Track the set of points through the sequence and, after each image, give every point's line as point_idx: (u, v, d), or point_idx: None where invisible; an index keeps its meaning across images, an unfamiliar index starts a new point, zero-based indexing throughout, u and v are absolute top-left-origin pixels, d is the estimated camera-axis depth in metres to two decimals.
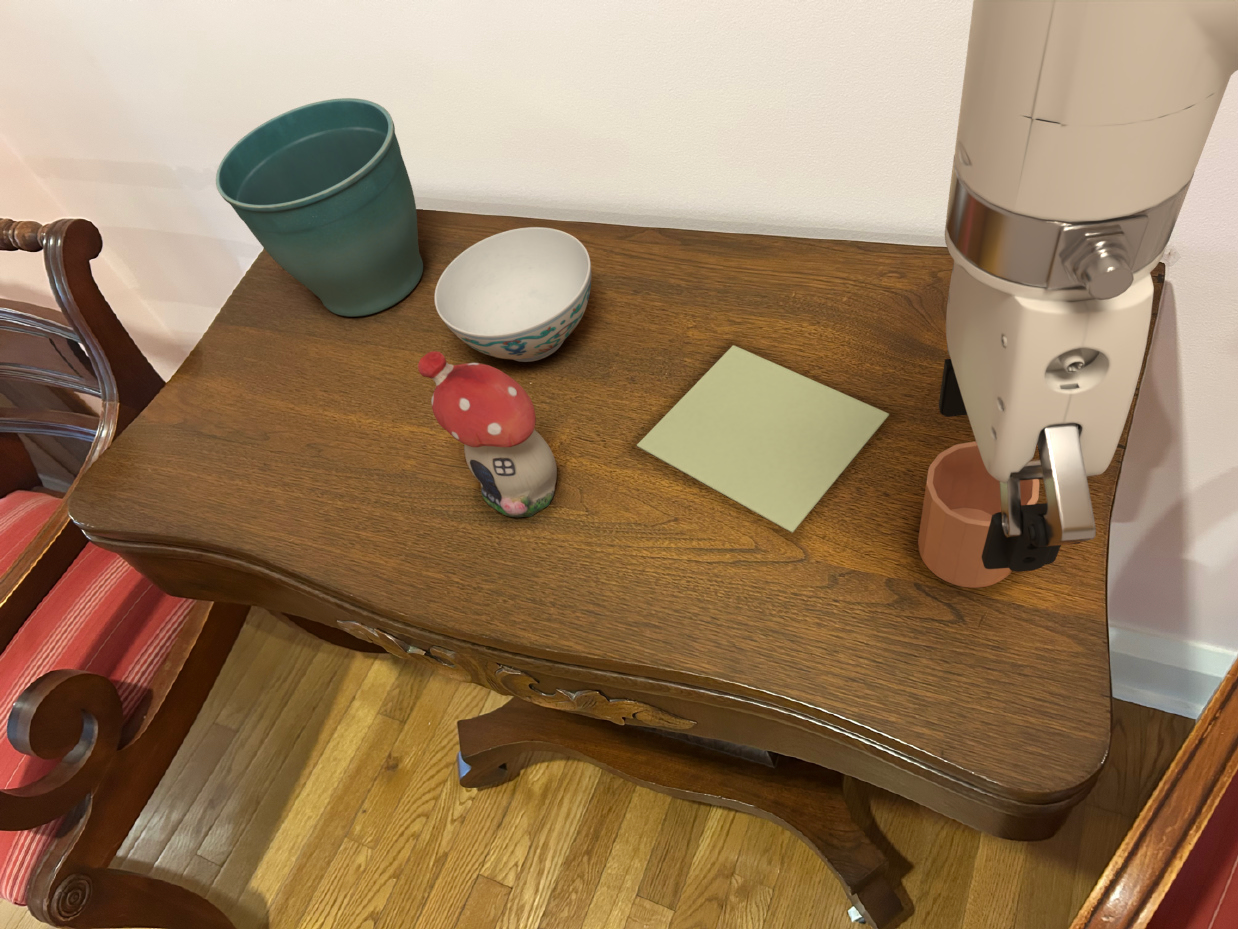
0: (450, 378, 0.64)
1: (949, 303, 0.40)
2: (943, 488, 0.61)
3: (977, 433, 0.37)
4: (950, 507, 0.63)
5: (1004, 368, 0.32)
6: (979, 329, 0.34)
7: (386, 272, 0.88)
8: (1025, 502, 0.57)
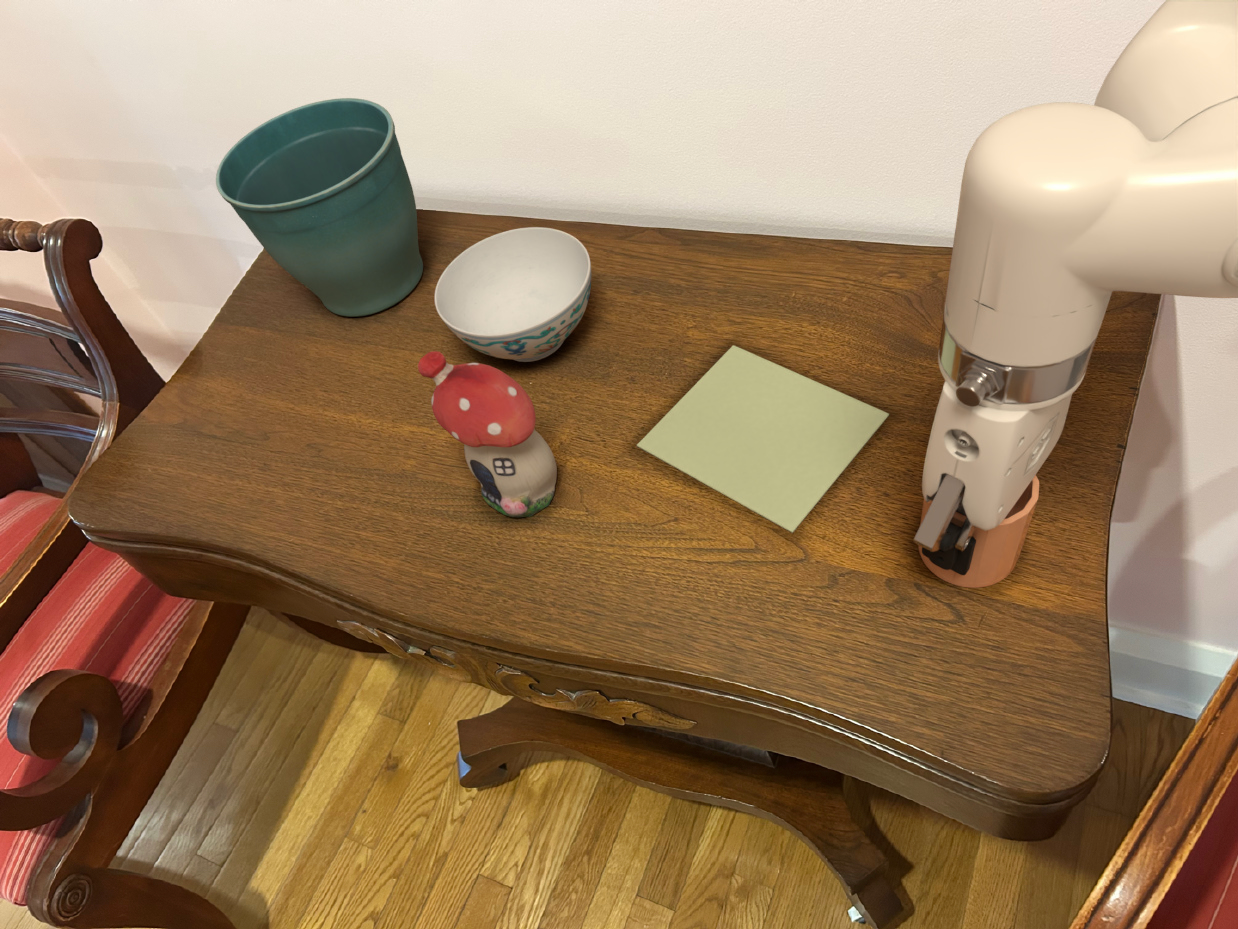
0: (450, 378, 0.64)
1: None
2: None
3: None
4: None
5: None
6: None
7: (386, 272, 0.88)
8: (1025, 502, 0.57)
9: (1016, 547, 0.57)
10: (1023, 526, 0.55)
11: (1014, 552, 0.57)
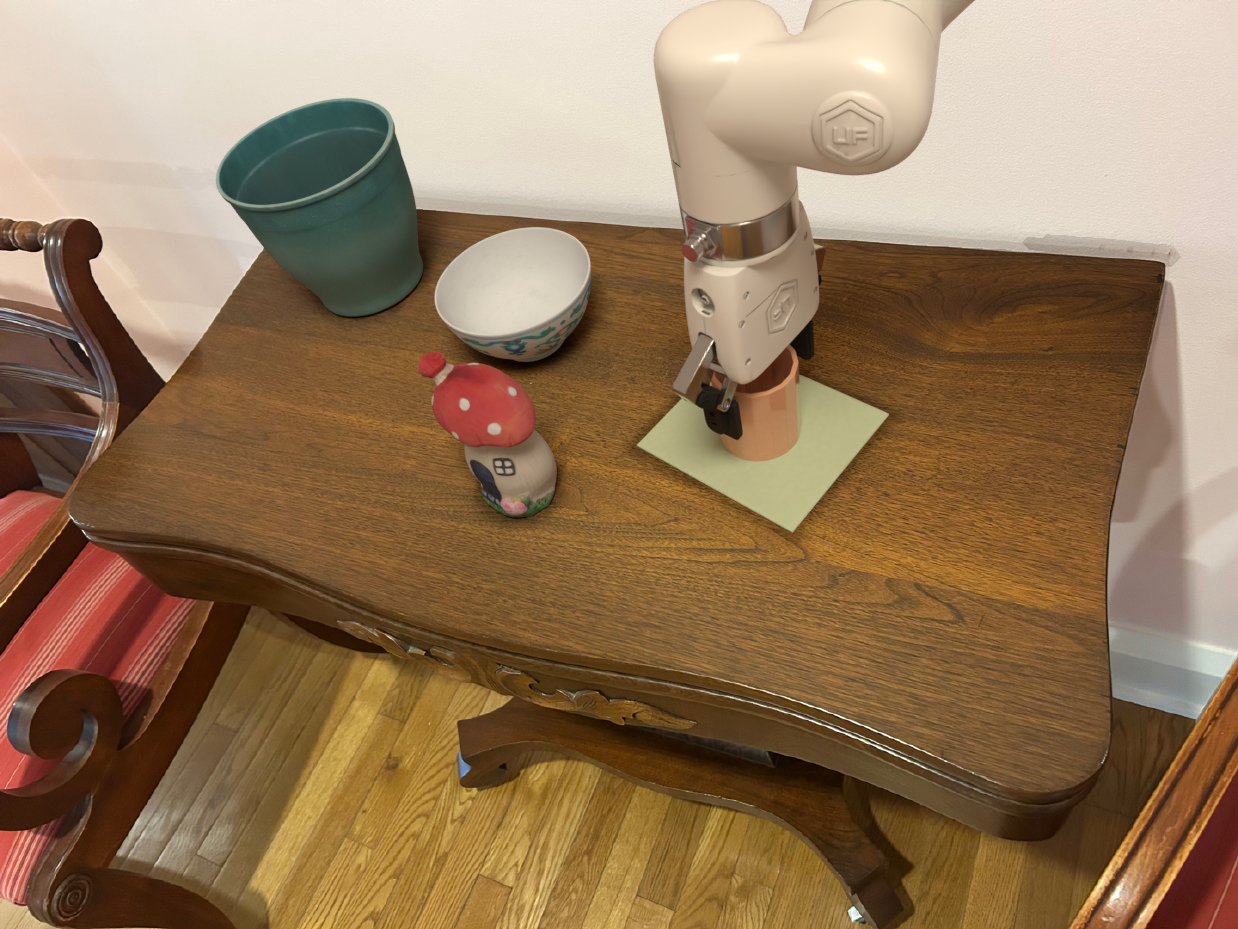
0: (450, 378, 0.64)
1: None
2: None
3: None
4: None
5: None
6: None
7: (386, 272, 0.88)
8: None
9: (785, 421, 0.67)
10: (784, 399, 0.65)
11: (785, 426, 0.67)
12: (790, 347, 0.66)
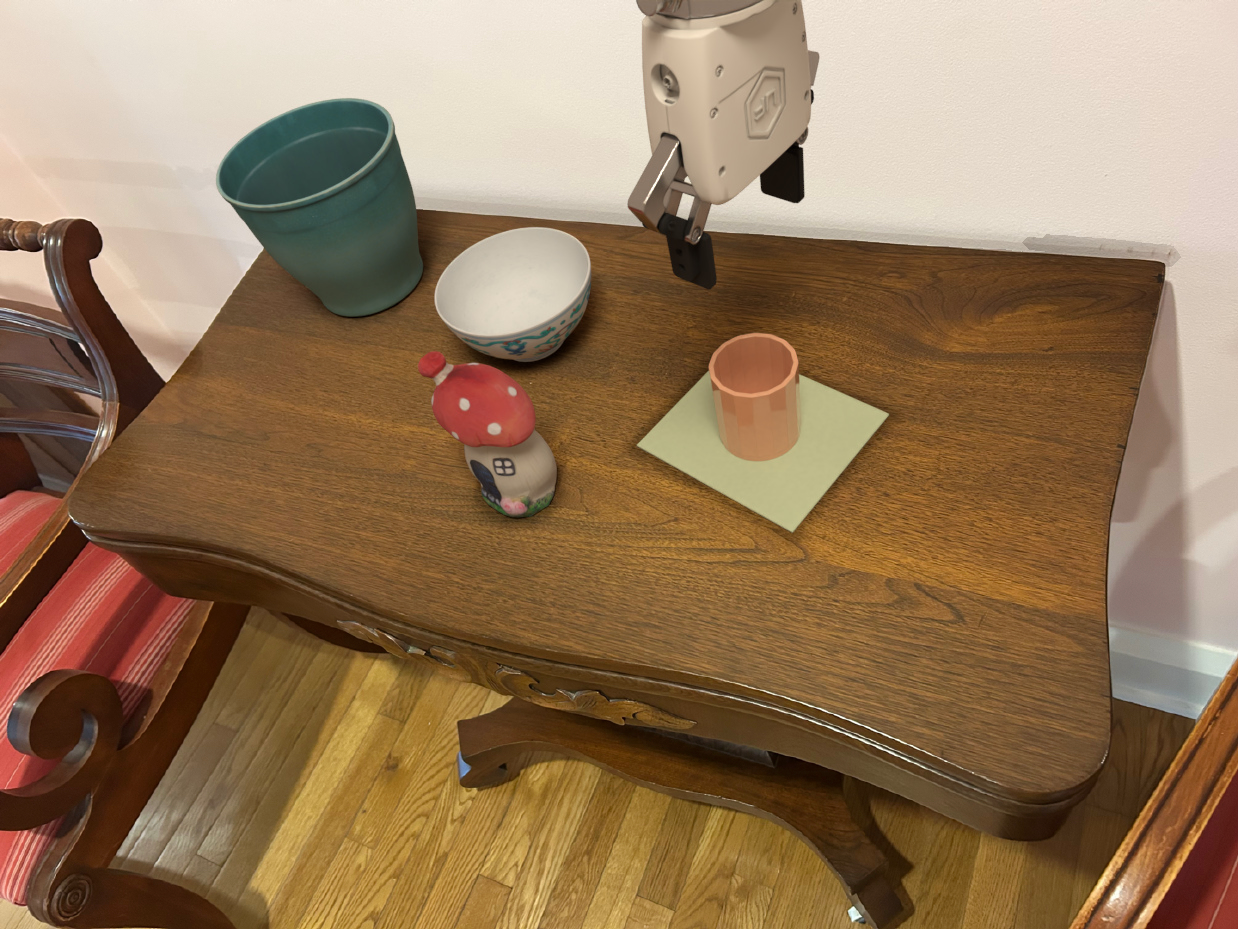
0: (450, 378, 0.64)
1: None
2: (735, 377, 0.71)
3: None
4: None
5: None
6: None
7: (386, 272, 0.88)
8: None
9: (785, 421, 0.67)
10: (784, 399, 0.65)
11: (785, 426, 0.67)
12: (790, 347, 0.66)
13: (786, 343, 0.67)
